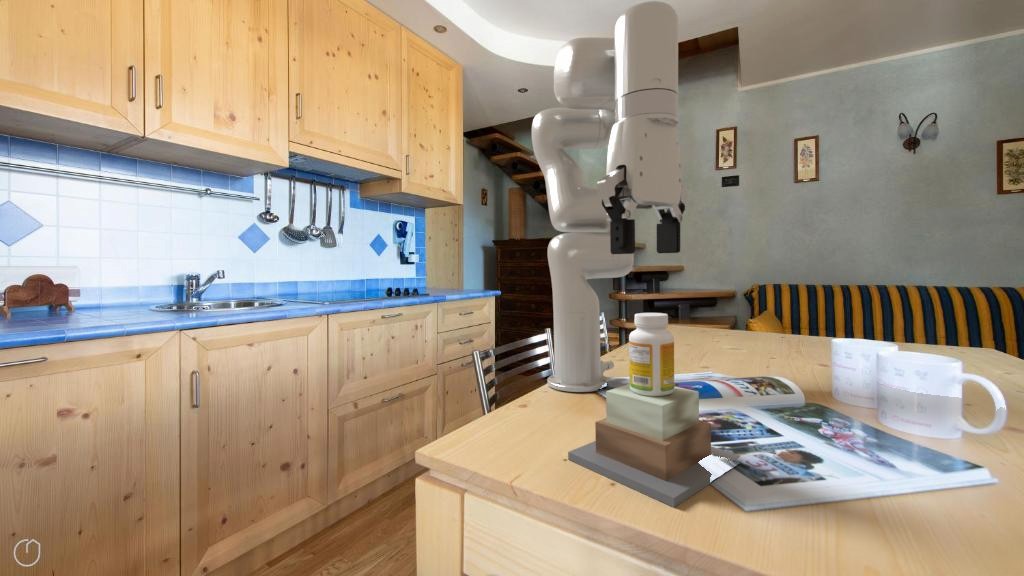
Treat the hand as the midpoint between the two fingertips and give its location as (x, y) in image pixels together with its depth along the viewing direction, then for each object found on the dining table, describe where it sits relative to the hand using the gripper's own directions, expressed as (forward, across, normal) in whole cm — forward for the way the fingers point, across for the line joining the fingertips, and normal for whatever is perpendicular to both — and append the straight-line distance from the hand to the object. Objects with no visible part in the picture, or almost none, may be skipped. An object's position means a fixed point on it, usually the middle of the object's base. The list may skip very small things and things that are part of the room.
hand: (646, 253), depth 56 cm
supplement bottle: (+18, +1, +1) cm, 18 cm away
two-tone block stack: (+26, +1, +2) cm, 26 cm away
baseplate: (+26, +1, +2) cm, 26 cm away
